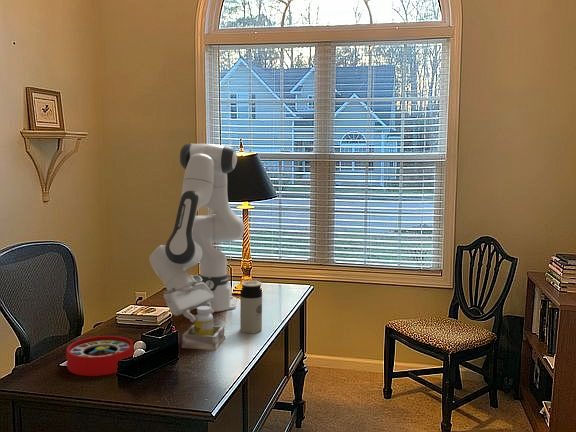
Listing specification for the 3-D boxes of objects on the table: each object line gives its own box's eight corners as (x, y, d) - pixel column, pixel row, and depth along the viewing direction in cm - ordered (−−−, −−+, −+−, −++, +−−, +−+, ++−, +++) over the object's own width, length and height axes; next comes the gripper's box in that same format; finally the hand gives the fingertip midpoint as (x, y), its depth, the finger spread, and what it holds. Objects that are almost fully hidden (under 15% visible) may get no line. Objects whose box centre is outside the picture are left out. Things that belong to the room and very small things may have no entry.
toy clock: (99, 332, 201) (146, 342, 192) (100, 348, 202) (146, 359, 193) (52, 350, 184) (101, 362, 175) (52, 368, 184) (101, 381, 176)
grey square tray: (192, 336, 215) (192, 324, 215) (225, 338, 213) (225, 326, 213) (181, 347, 204) (181, 334, 203) (215, 350, 202) (215, 337, 201)
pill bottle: (195, 337, 211) (194, 305, 210) (213, 336, 212) (213, 304, 210) (193, 343, 205) (193, 310, 203) (212, 343, 205) (212, 310, 204)
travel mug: (235, 330, 223) (236, 282, 221) (251, 325, 229) (251, 279, 226) (250, 335, 218) (251, 286, 215) (266, 330, 223) (266, 283, 221)
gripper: (166, 287, 200) (189, 320, 197) (203, 275, 218) (225, 305, 215) (156, 298, 203) (179, 330, 200) (193, 285, 221) (215, 315, 218)
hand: (203, 317), depth 207 cm, fingers open, 8 cm apart
